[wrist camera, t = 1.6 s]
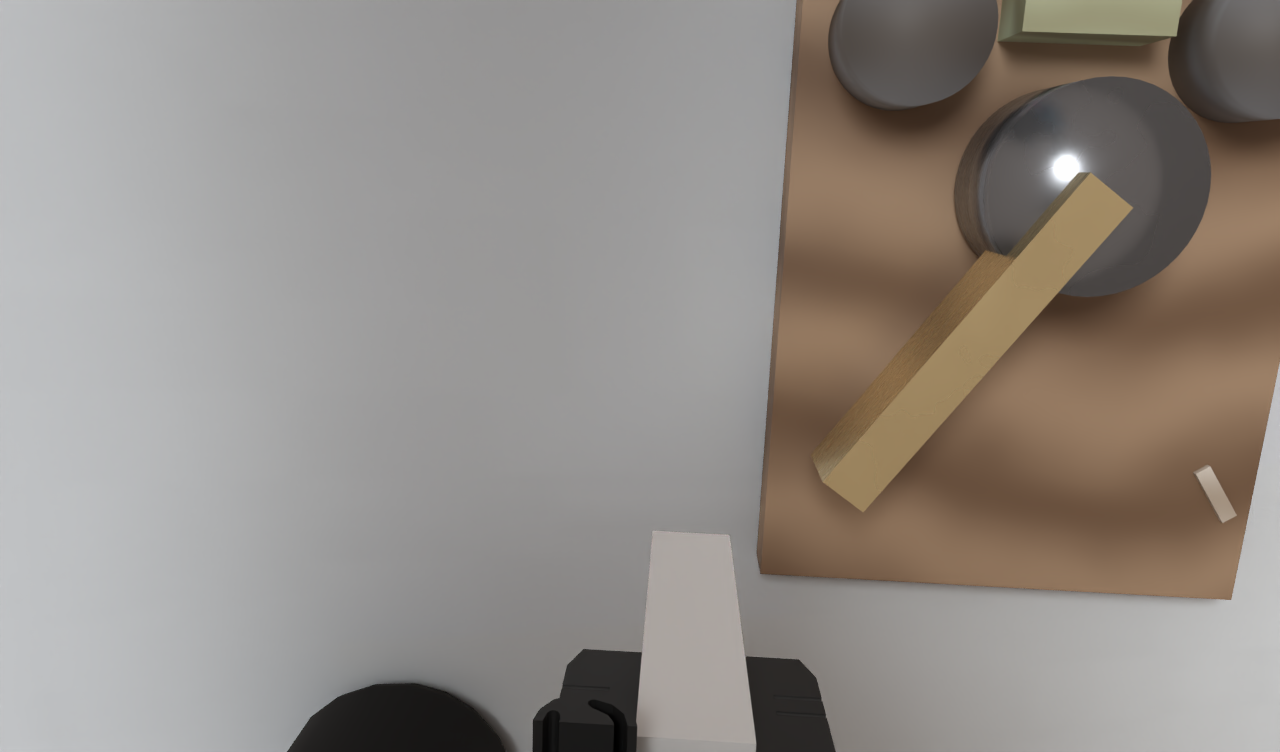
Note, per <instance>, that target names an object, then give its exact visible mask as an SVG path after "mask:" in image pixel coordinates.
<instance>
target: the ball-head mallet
mask: <svg viewBox="0 0 1280 752" xmlns="http://www.w3.org/2000/svg"><path fill="white" fill-rule="evenodd" d="M1210 185H1211V163H1210V156H1209V151H1208V147H1207V144H1206V141H1205V138H1204V135H1203V133H1202V131H1201V129H1200V127H1199V125H1198V123H1197V121H1196V120H1195V119H1194V117H1193V116H1192V115H1191V113H1190V112H1189V110H1188V109H1187V108H1186V107H1185V106H1184V105H1183V104H1182V103H1181V102H1180V101H1179V100H1178V99H1176V98H1175V97H1174V96H1172V95H1171V94H1170V93H1168V92H1167V91H1165V90H1163V89H1161V88H1159V87H1157V86H1156V85H1154V84H1151V83H1148V82H1145V81H1142V80H1139V79H1133V78H1128V77H1117V76H1107V77H1095V78H1091V79H1086V80H1081V81H1077V82H1072V83H1068V84H1064V85H1059V86H1055V87H1050V88H1046V89H1041V90H1037V91H1034V92H1031V93H1028V94H1025V95H1022V96H1020V97H1018V98H1016V99H1014V100H1012V101H1010V102H1009V103H1007V104H1006V105H1004V106H1003V107H1001V108H999V109H998V110H997V111H996V112H995V113H993V114H992V115H991V116H990V117H989V118H988V119H987V120H986V121H985V122H984V123H983V124H982V125H981V126H980V127H979V129H978V130H977V131H976V133H975V134H974V136H973V137H972V138H971V140H970V142H969V144H968V145H967V147H966V149H965V151H964V153H963V156H962V158H961V161H960V164H959V167H958V171H957V175H956V182H955V208H956V214H957V218H958V222H959V225H960V228H961V230H962V232H963V235H964V237H965V238H966V240H967V242H968V243H969V245H970V247H971V248H972V249H973V250H974V252H975V253H976V254H977V255H978V256H979V258H978V260H977V261H976V262H975V263H974V264H973V265H972V267H971V268H970V269H969V270H968V271H967V272H966V274H965V275H964V276H963V277H962V278H961V279H960V281H959V282H958V283H957V284H956V285H955V286H954V288H953V289H952V290H951V291H950V292H949V294H948V295H947V296H946V297H945V298H944V299H943V301H942V302H941V303H940V304H939V305H938V306H937V308H936V309H935V310H934V311H933V312H932V313H931V315H930V316H929V317H928V318H927V319H926V320H925V322H924V323H923V324H922V325H921V326H920V327H919V329H918V330H917V331H916V332H915V333H914V334H913V336H912V337H911V338H910V339H909V340H908V341H907V343H906V344H905V345H904V346H903V347H902V348H901V350H900V351H899V352H898V353H897V354H896V356H895V357H894V358H893V359H892V360H891V361H890V363H889V364H888V365H887V366H886V367H885V368H884V370H883V371H882V372H881V373H880V374H879V375H878V377H877V378H876V379H875V380H874V381H873V382H872V384H871V385H870V386H869V387H868V388H867V389H866V391H865V392H864V393H863V394H862V395H861V396H860V398H859V399H858V400H857V401H856V402H855V403H854V405H853V406H852V407H851V408H850V409H849V410H848V412H847V413H846V414H845V415H844V416H843V417H842V419H841V420H840V421H839V422H838V423H837V425H836V426H835V427H834V428H833V429H832V430H831V432H830V433H829V434H828V435H827V436H826V437H825V439H824V440H823V441H822V442H821V443H820V444H819V446H818V447H817V448H816V449H815V450H814V451H813V453H812V454H811V457H812V459H813V462H814V464H815V466H816V468H817V470H818V473H819V475H820V477H821V479H822V482H823V483H825V484H826V485H827V486H829V487H830V488H831V489H833V490H834V491H835V492H837V493H838V494H839V495H841V496H842V497H843V498H845V499H846V500H847V501H849V502H850V503H851V504H853V505H854V506H855V507H856V508H858V509H859V510H860V511H862V512H864V511H865V510H866V509H867V508H868V506H869V505H870V504H871V503H872V502H873V501H874V500H875V499H876V497H877V496H878V495H879V494H880V493H881V492H882V491H883V490H884V488H885V487H886V486H887V485H888V484H889V483H890V482H891V480H892V479H893V478H894V477H895V476H896V475H897V474H898V473H899V471H900V470H901V469H902V468H903V467H904V466H905V465H906V464H907V462H908V461H909V460H910V459H911V458H912V457H913V456H914V455H915V453H916V452H917V451H918V450H919V449H920V448H921V447H922V446H923V444H924V443H925V442H926V441H927V440H928V439H929V438H930V437H931V435H932V434H933V433H934V432H935V431H936V430H937V429H938V427H939V426H940V425H941V424H942V423H943V422H944V421H945V420H946V418H947V417H948V416H949V415H950V414H951V413H952V412H953V411H954V409H955V408H956V407H957V406H958V405H959V404H960V403H961V402H962V400H963V399H964V398H965V397H966V396H967V395H968V394H969V393H970V391H971V390H972V389H973V388H974V387H975V386H976V385H977V384H978V382H979V381H980V380H981V379H982V378H983V377H984V376H985V374H986V373H987V372H988V371H989V370H990V369H991V368H992V367H993V365H994V364H995V363H996V362H997V361H998V360H999V359H1000V358H1001V356H1002V355H1003V354H1004V353H1005V352H1006V351H1007V350H1008V349H1009V347H1010V346H1011V345H1012V344H1013V343H1014V342H1015V341H1016V340H1017V338H1018V337H1019V336H1020V335H1021V334H1022V333H1023V332H1024V331H1025V329H1026V328H1027V327H1028V326H1029V325H1030V324H1031V323H1032V321H1033V320H1034V319H1035V318H1036V317H1037V316H1038V315H1039V314H1040V312H1041V311H1042V310H1043V309H1044V308H1045V307H1046V306H1047V305H1048V303H1049V302H1050V301H1051V300H1052V299H1053V298H1054V297H1055V296H1056V294H1057V293H1061V294H1066V295H1071V296H1080V297H1096V296H1105V295H1110V294H1116V293H1119V292H1122V291H1125V290H1128V289H1131V288H1133V287H1135V286H1138V285H1140V284H1142V283H1144V282H1146V281H1147V280H1149V279H1151V278H1152V277H1154V276H1156V275H1157V274H1158V273H1160V272H1161V271H1162V270H1163V269H1165V268H1166V267H1167V266H1168V265H1169V264H1170V263H1171V262H1173V261H1174V260H1175V259H1176V258H1177V257H1178V256H1179V254H1180V253H1181V252H1182V251H1183V250H1184V248H1185V247H1186V246H1187V245H1188V243H1189V242H1190V240H1191V238H1192V237H1193V235H1194V234H1195V232H1196V230H1197V228H1198V226H1199V224H1200V222H1201V220H1202V218H1203V215H1204V212H1205V209H1206V206H1207V203H1208V198H1209V193H1210Z"/></svg>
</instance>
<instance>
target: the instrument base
mask: <svg viewBox="0 0 1280 752" xmlns="http://www.w3.org/2000/svg"><path fill="white" fill-rule="evenodd" d="M1107 76H1117V77H1128V78H1133V79H1139V80H1142V81H1145V82H1148V83H1151V84H1154V85H1156V86H1157V87H1159V88H1161V89H1163V90H1165V91H1167V92H1168V93H1170V94H1171V95H1172V96H1174V97H1175V98H1176V99H1178V100H1179V101H1180V102H1181V103H1182V104H1183V105H1184V106H1185V107H1186V108H1187V109H1188V110H1189V112H1190V113H1191V115H1192V116H1193V117H1194V119H1195V120H1196V121H1197V123H1198V125H1199V127H1200V129H1201V131H1202V133H1203V135H1204V138H1205V141H1206V144H1207V147H1208V151H1209V156H1210V163H1211V185H1210V193H1209V198H1208V203H1207V206H1206V209H1205V212H1204V215H1203V218H1202V220H1201V222H1200V224H1199V226H1198V228H1197V230H1196V232H1195V234H1194V235H1193V237H1192V238H1191V240H1190V242H1189V243H1188V245H1187V246H1186V247H1185V248H1184V250H1183V251H1182V252H1181V253H1180V254H1179V256H1178V257H1177V258H1176V259H1175V260H1174V261H1173V262H1171V263H1170V264H1169V265H1168V266H1167V267H1166V268H1165V269H1163V270H1162V271H1161V272H1160V273H1158V274H1157V275H1156V276H1154V277H1152V278H1151V279H1149V280H1147V281H1146V282H1144V283H1142V284H1140V285H1138V286H1135V287H1133V288H1131V289H1128V290H1125V291H1122V292H1119V293H1116V294H1110V295H1105V296H1096V297H1080V296H1071V295H1066V294H1061V293H1057V294H1056V296H1055V297H1054V298H1053V299H1052V300H1051V301H1050V302H1049V303H1048V305H1047V306H1046V307H1045V308H1044V309H1043V310H1042V311H1041V312H1040V314H1039V315H1038V316H1037V317H1036V318H1035V319H1034V320H1033V321H1032V323H1031V324H1030V325H1029V326H1028V327H1027V328H1026V329H1025V331H1024V332H1023V333H1022V334H1021V335H1020V336H1019V337H1018V338H1017V340H1016V341H1015V342H1014V343H1013V344H1012V345H1011V346H1010V347H1009V349H1008V350H1007V351H1006V352H1005V353H1004V354H1003V355H1002V356H1001V358H1000V359H999V360H998V361H997V362H996V363H995V364H994V365H993V367H992V368H991V369H990V370H989V371H988V372H987V373H986V374H985V376H984V377H983V378H982V379H981V380H980V381H979V382H978V384H977V385H976V386H975V387H974V388H973V389H972V390H971V391H970V393H969V394H968V395H967V396H966V397H965V398H964V399H963V400H962V402H961V403H960V404H959V405H958V406H957V407H956V408H955V409H954V411H953V412H952V413H951V414H950V415H949V416H948V417H947V418H946V420H945V421H944V422H943V423H942V424H941V425H940V426H939V427H938V429H937V430H936V431H935V432H934V433H933V434H932V435H931V437H930V438H929V439H928V440H927V441H926V442H925V443H924V444H923V446H922V447H921V448H920V449H919V450H918V451H917V452H916V453H915V455H914V456H913V457H912V458H911V459H910V460H909V461H908V462H907V464H906V465H905V466H904V467H903V468H902V469H901V470H900V471H899V473H898V474H897V475H896V476H895V477H894V478H893V479H892V480H891V482H890V483H889V484H888V485H887V486H886V487H885V488H884V490H883V491H882V492H881V493H880V494H879V495H878V496H877V497H876V499H875V500H874V501H873V502H872V503H871V504H870V505H869V506H868V508H867V509H866V510H865V511H864V512H862V511H860V510H859V509H858V508H856V507H855V506H854V505H853V504H851V503H850V502H849V501H847V500H846V499H845V498H843V497H842V496H841V495H839V494H838V493H837V492H835V491H834V490H833V489H831V488H830V487H829V486H827V485H826V484H825V483H823V482H822V479H821V477H820V475H819V473H818V470H817V468H816V466H815V464H814V462H813V459H812V457H811V454H812V453H813V451H814V450H815V449H816V448H817V447H818V446H819V444H820V443H821V442H822V441H823V440H824V439H825V437H826V436H827V435H828V434H829V433H830V432H831V430H832V429H833V428H834V427H835V426H836V425H837V423H838V422H839V421H840V420H841V419H842V417H843V416H844V415H845V414H846V413H847V412H848V410H849V409H850V408H851V407H852V406H853V405H854V403H855V402H856V401H857V400H858V399H859V398H860V396H861V395H862V394H863V393H864V392H865V391H866V389H867V388H868V387H869V386H870V385H871V384H872V382H873V381H874V380H875V379H876V378H877V377H878V375H879V374H880V373H881V372H882V371H883V370H884V368H885V367H886V366H887V365H888V364H889V363H890V361H891V360H892V359H893V358H894V357H895V356H896V354H897V353H898V352H899V351H900V350H901V348H902V347H903V346H904V345H905V344H906V343H907V341H908V340H909V339H910V338H911V337H912V336H913V334H914V333H915V332H916V331H917V330H918V329H919V327H920V326H921V325H922V324H923V323H924V322H925V320H926V319H927V318H928V317H929V316H930V315H931V313H932V312H933V311H934V310H935V309H936V308H937V306H938V305H939V304H940V303H941V302H942V301H943V299H944V298H945V297H946V296H947V295H948V294H949V292H950V291H951V290H952V289H953V288H954V286H955V285H956V284H957V283H958V282H959V281H960V279H961V278H962V277H963V276H964V275H965V274H966V272H967V271H968V270H969V269H970V268H971V267H972V265H973V264H974V263H975V262H976V261H977V260H978V258H979V256H978V255H977V254H976V253H975V252H974V250H973V249H972V248H971V247H970V245H969V243H968V242H967V240H966V238H965V237H964V235H963V232H962V230H961V228H960V225H959V222H958V218H957V214H956V208H955V182H956V175H957V171H958V167H959V164H960V161H961V158H962V156H963V153H964V151H965V149H966V147H967V145H968V144H969V142H970V140H971V138H972V137H973V136H974V134H975V133H976V131H977V130H978V129H979V127H980V126H981V125H982V124H983V123H984V122H985V121H986V120H987V119H988V118H989V117H990V116H991V115H992V114H993V113H995V112H996V111H997V110H998V109H999V108H1001V107H1003V106H1004V105H1006V104H1007V103H1009V102H1010V101H1012V100H1014V99H1016V98H1018V97H1020V96H1022V95H1025V94H1028V93H1031V92H1034V91H1037V90H1041V89H1046V88H1050V87H1055V86H1059V85H1064V84H1068V83H1072V82H1077V81H1081V80H1086V79H1091V78H1095V77H1107ZM1279 363H1280V0H797V4H796V18H795V31H794V45H793V59H792V73H791V87H790V100H789V114H788V128H787V142H786V156H785V169H784V183H783V197H782V211H781V225H780V238H779V252H778V266H777V280H776V294H775V307H774V321H773V335H772V349H771V363H770V376H769V390H768V404H767V418H766V432H765V445H764V459H763V473H762V487H761V501H760V514H759V528H758V542H757V558H758V563H759V568H760V574H775V575H793V576H811V577H829V578H847V579H865V580H883V581H901V582H919V583H937V584H955V585H973V586H991V587H1009V588H1027V589H1045V590H1063V591H1081V592H1099V593H1117V594H1135V595H1153V596H1171V597H1189V598H1207V599H1225V600H1231V598H1232V593H1233V588H1234V583H1235V578H1236V573H1237V568H1238V563H1239V559H1240V554H1241V549H1242V544H1243V539H1244V534H1245V529H1246V524H1247V519H1248V514H1249V510H1250V505H1251V500H1252V495H1253V490H1254V485H1255V480H1256V475H1257V470H1258V465H1259V461H1260V456H1261V451H1262V446H1263V441H1264V436H1265V431H1266V426H1267V421H1268V416H1269V412H1270V407H1271V402H1272V397H1273V392H1274V387H1275V382H1276V377H1277V372H1278V367H1279Z"/></svg>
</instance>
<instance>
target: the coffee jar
mask: <svg viewBox="0 0 1280 752" xmlns="http://www.w3.org/2000/svg"><path fill="white" fill-rule="evenodd" d="M288 752H505V749H504V747H503V745H502V743H501V741H500V738H499V737H498V736H497V735H496V733H495V732H494V731H493V730H492V729H491V728H490V726H489V725H488V724H487V723H486V722H485V721H484V720H483V719H482V718H481V717H480V715H479V714H478V713H477V712H476V711H475V710H474V709H473V708H471V707H470V706H468V705H467V704H465V703H463V702H462V701H460V700H458V699H457V698H455V697H453V696H452V695H450V694H448V693H447V692H444V691H440V690H437V689H433V688H429V687H426V686H422V685H418V684H375V685H372V686H369V687H366V688H363V689H360V690H357V691H354V692H351V693H347V694H344V695H342V696H340V697H337V698H336V699H335V700H333V701H332V702H331V703H329V704H328V705H327V706H325V707H324V708H323V709H321V710H320V711H319V712H317V713H316V714H315V715H313V716H312V717H311V718H310V719H309V721H308V722H307V724H306V725H305V727H304V728H303V730H302V731H301V732H300V734H299V735H298V737H297V738H296V740H295V741H294V743H293V744H292V746H291V747H290V749H289V750H288Z"/></svg>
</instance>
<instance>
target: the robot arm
mask: <svg viewBox="0 0 1280 752" xmlns="http://www.w3.org/2000/svg"><path fill="white" fill-rule="evenodd" d="M533 752H835V748H834V744H833V740H832V736H831V733H830V729H829V725H828V721H827V718H826V714H825V710H824V706H823V702H821V695H820V691H819V687H818V683H817V679H816V677H815V676H814V675H813V674H812V673H811V672H810V671H809V670H808V669H807V668H806V667H805V666H804V665H803V664H802V662H801V661H800V660H797V659H780V658H763V657H746V656H745V651H744V643H743V635H742V627H741V620H740V612H739V604H738V596H737V588H736V581H735V573H734V565H733V557H732V549H731V542H730V535H725V534H707V533H688V532H670V531H652V543H651V554H650V566H649V577H648V589H647V601H646V612H645V624H644V636H643V647H642V653H640V652H623V651H606V650H589V649H583V650H582V651H581V652H580V653H579V654H578V655H577V656H576V657H575V658H574V659H573V660H572V661H571V662H570V663H569V664H568V665H567V669H566V673H565V677H564V681H563V688H562V690H561V694H560V698H558V699H555V700H553V701H551V702H550V703H548V704H547V705H545V706H544V707H542V708H541V709H540V710H539V711H538V713H537V715H536V716H535V718H534V720H533Z"/></svg>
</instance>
